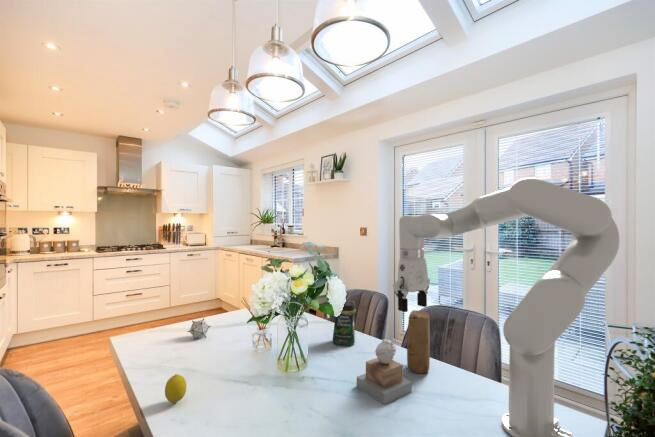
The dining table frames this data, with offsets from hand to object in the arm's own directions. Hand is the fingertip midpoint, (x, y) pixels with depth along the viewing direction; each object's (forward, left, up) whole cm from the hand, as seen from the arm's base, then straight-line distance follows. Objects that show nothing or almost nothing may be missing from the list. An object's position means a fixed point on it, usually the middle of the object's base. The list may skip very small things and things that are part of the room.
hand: (412, 308), depth 98 cm
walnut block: (+5, +8, -22) cm, 24 cm away
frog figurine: (+5, +7, -17) cm, 19 cm away
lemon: (+33, +62, -25) cm, 75 cm away
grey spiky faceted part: (+81, +45, -25) cm, 96 cm away
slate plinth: (+5, +8, -25) cm, 27 cm away
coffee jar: (+41, -5, -25) cm, 48 cm away
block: (+8, -13, -25) cm, 29 cm away
